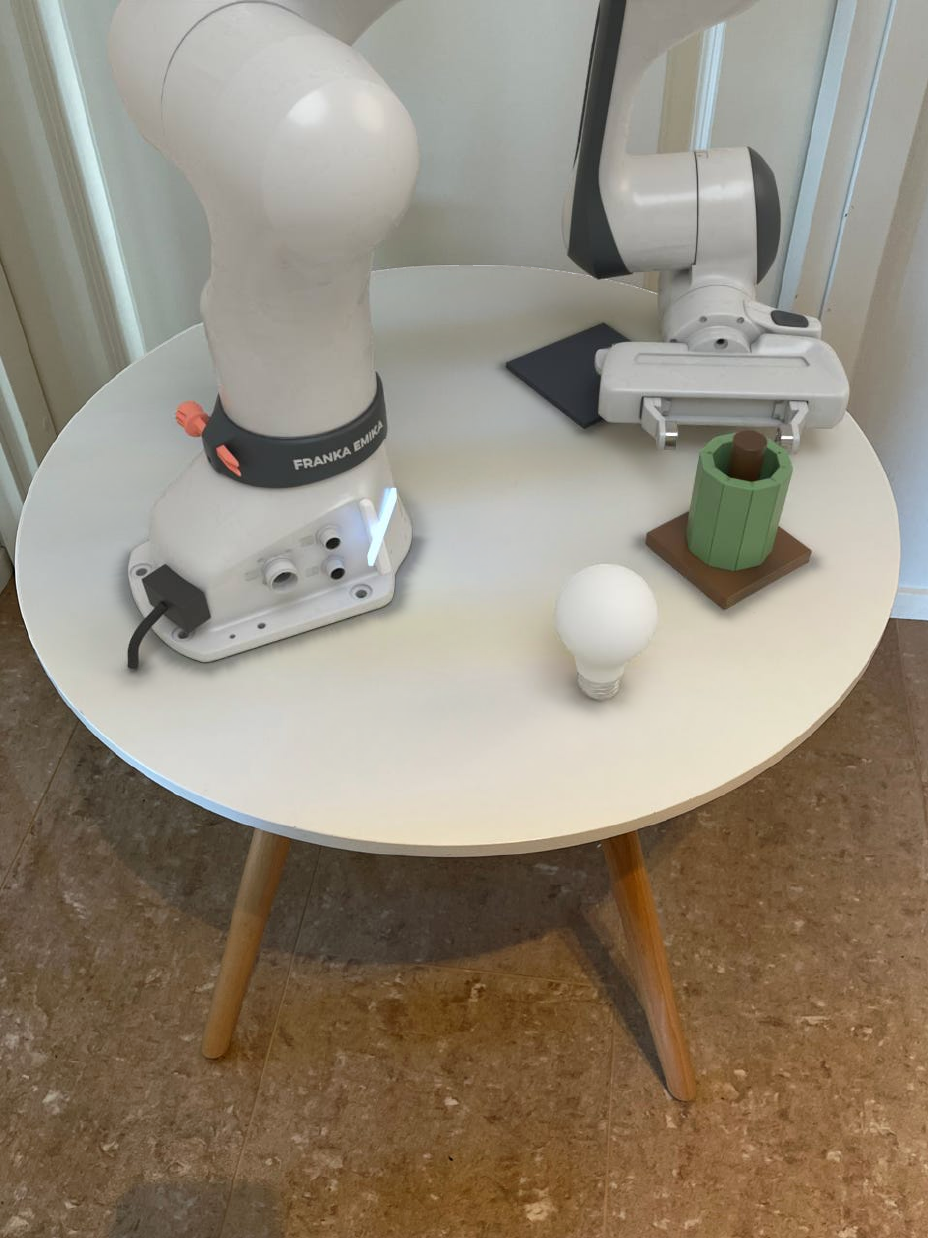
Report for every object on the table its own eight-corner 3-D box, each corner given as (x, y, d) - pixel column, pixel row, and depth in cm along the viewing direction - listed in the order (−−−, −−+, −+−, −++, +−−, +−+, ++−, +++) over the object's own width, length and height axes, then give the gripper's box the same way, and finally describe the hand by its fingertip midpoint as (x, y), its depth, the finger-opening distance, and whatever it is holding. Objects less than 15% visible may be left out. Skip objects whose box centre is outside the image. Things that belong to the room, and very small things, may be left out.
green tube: (728, 583, 79) (746, 501, 73) (668, 534, 83) (681, 452, 77) (789, 548, 81) (811, 467, 76) (728, 502, 85) (745, 421, 79)
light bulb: (641, 735, 71) (659, 624, 63) (543, 720, 72) (548, 609, 64) (649, 661, 76) (667, 548, 67) (557, 648, 77) (563, 536, 69)
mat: (584, 429, 94) (584, 423, 94) (505, 367, 101) (505, 362, 101) (685, 383, 99) (685, 377, 98) (603, 327, 106) (603, 321, 105)
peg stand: (724, 610, 79) (749, 497, 71) (644, 543, 84) (659, 431, 76) (809, 561, 82) (843, 448, 74) (727, 500, 87) (750, 388, 79)
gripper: (596, 313, 91) (598, 408, 82) (838, 318, 90) (868, 415, 80) (591, 375, 96) (592, 472, 86) (822, 381, 94) (848, 480, 85)
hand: (728, 445), depth 83 cm, fingers open, 8 cm apart
